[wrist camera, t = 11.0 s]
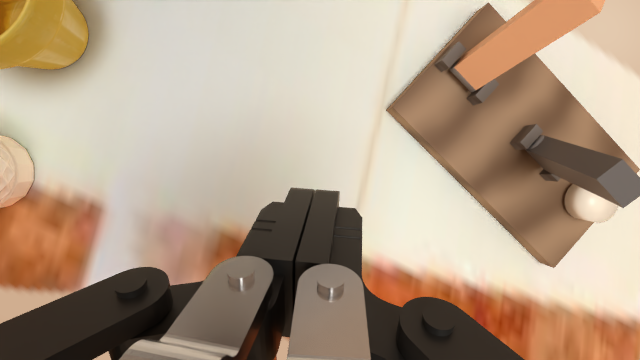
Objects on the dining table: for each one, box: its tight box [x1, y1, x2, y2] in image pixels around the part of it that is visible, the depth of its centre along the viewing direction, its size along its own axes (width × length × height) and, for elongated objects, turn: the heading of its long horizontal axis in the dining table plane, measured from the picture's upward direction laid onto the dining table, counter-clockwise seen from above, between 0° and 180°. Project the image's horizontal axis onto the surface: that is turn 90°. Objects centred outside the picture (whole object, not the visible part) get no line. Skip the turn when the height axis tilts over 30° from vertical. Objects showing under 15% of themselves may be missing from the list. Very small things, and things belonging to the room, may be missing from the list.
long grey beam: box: [525, 135, 640, 208], centre depth 29 cm, size 3×2×12 cm, turn 47°
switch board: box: [387, 3, 640, 268], centre depth 35 cm, size 24×14×4 cm, turn 47°
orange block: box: [449, 0, 605, 92], centre depth 28 cm, size 3×2×12 cm, turn 47°
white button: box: [565, 184, 618, 223], centre depth 34 cm, size 4×4×2 cm
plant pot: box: [0, 0, 89, 70], centre depth 26 cm, size 10×10×10 cm
